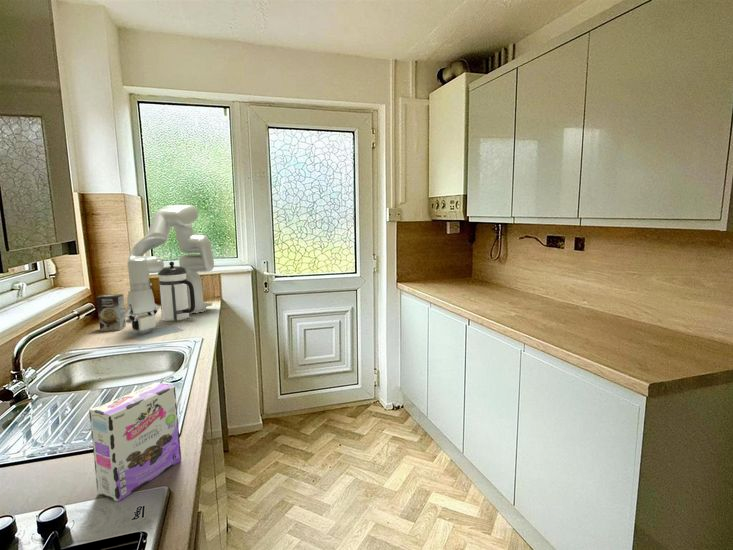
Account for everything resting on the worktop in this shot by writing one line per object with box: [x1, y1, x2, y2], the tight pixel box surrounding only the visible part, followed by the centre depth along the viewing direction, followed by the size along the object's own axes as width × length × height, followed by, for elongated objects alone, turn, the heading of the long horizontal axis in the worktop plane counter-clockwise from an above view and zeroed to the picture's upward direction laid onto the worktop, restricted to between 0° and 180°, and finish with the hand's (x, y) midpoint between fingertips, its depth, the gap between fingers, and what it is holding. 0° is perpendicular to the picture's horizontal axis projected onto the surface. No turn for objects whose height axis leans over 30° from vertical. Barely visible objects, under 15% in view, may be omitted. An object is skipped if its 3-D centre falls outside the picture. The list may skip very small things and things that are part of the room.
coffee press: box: [157, 261, 195, 322], centre depth 198 cm, size 17×16×30 cm
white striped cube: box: [130, 314, 156, 331], centre depth 174 cm, size 6×6×5 cm
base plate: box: [125, 324, 186, 341], centre depth 176 cm, size 19×16×2 cm
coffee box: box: [96, 293, 127, 332], centre depth 187 cm, size 9×6×16 cm
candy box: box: [88, 381, 182, 502], centre depth 77 cm, size 14×6×16 cm, turn 155°
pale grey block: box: [138, 328, 150, 334], centre depth 175 cm, size 3×2×4 cm, turn 153°
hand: (143, 327), depth 174 cm, fingers closed on white striped cube, 6 cm apart
